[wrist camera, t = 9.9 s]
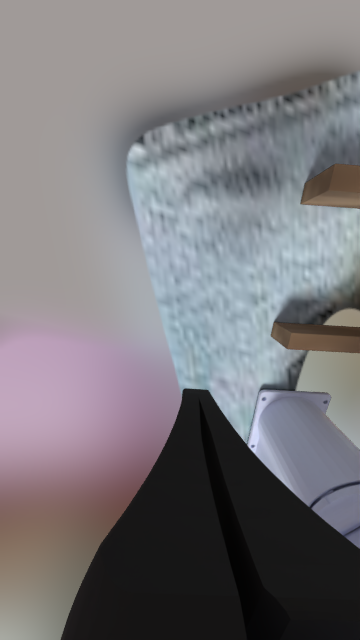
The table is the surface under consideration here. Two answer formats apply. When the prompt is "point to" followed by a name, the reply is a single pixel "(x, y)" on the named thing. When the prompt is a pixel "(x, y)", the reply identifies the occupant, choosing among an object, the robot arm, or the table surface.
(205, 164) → the table surface
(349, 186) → the walled channel
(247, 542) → the robot arm
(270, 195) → the table surface
